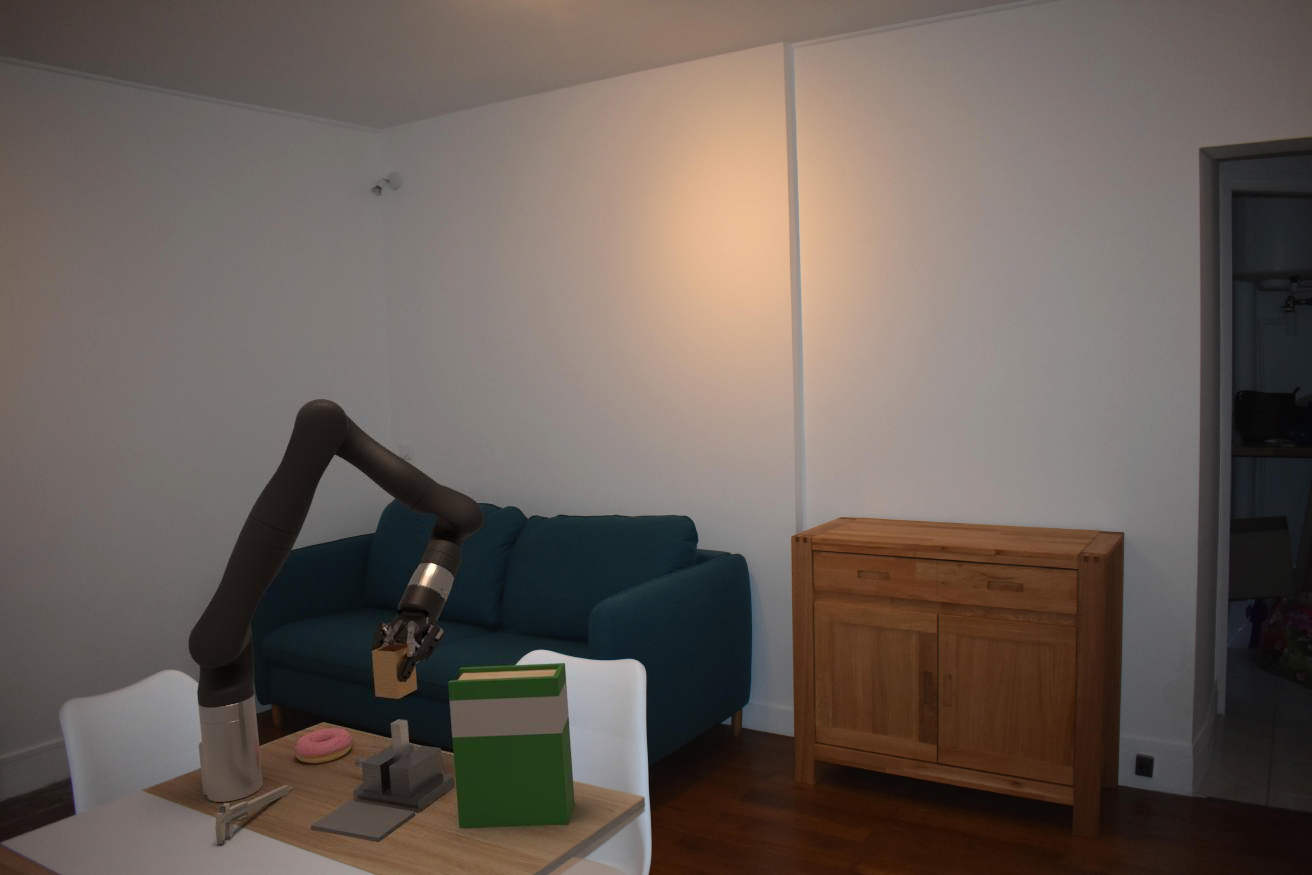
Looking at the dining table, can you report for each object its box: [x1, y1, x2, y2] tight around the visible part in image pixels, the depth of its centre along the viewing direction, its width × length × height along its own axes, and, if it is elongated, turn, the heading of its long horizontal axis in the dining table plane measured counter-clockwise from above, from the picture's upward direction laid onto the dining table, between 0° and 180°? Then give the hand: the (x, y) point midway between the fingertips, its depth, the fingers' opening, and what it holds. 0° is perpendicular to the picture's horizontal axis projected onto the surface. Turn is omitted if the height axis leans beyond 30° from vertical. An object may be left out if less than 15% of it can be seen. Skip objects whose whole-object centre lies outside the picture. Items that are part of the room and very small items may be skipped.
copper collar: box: [371, 642, 418, 700], centre depth 158 cm, size 5×5×8 cm
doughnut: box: [293, 727, 353, 764], centre depth 180 cm, size 11×11×4 cm
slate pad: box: [310, 800, 416, 843], centre depth 150 cm, size 14×9×1 cm, turn 67°
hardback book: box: [447, 662, 576, 829], centre depth 148 cm, size 18×7×24 cm, turn 87°
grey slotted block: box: [352, 718, 456, 813], centre depth 159 cm, size 17×10×13 cm, turn 67°
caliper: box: [214, 784, 295, 845], centre depth 154 cm, size 20×1×6 cm, turn 171°
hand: (388, 678), depth 156 cm, fingers closed on copper collar, 5 cm apart
